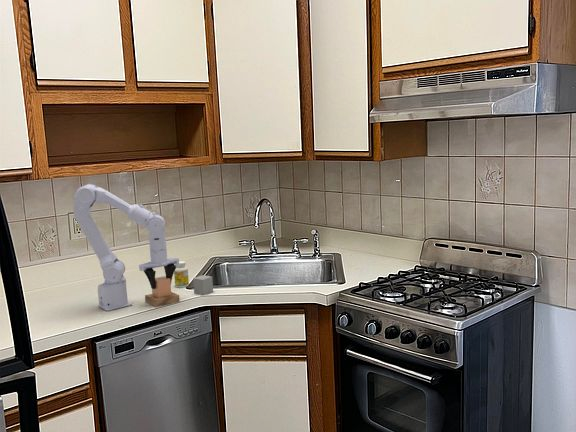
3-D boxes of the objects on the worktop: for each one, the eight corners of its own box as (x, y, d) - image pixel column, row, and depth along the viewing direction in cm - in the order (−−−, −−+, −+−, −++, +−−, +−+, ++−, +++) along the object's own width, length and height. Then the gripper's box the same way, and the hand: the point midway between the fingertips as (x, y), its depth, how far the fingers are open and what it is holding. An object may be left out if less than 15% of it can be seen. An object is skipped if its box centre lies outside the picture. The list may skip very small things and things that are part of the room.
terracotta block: (158, 297, 204) (157, 281, 203) (152, 294, 208) (151, 278, 207) (171, 295, 207) (170, 278, 206) (165, 292, 211) (164, 276, 210)
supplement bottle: (191, 285, 229) (190, 261, 228) (182, 288, 225) (180, 264, 223) (181, 283, 232) (180, 260, 231) (172, 286, 228) (170, 263, 226)
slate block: (203, 295, 214) (202, 279, 213) (194, 293, 217) (193, 278, 216) (213, 292, 218) (212, 276, 217) (203, 290, 221) (202, 275, 220)
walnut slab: (156, 308, 202) (155, 300, 201) (145, 303, 209) (144, 295, 209) (179, 303, 207) (179, 295, 207) (168, 298, 214) (167, 290, 214)
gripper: (144, 254, 198) (147, 293, 200) (181, 247, 207) (184, 284, 209) (135, 251, 203) (138, 289, 205) (172, 245, 212) (175, 281, 214)
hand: (161, 286), depth 207 cm, fingers open, 5 cm apart
